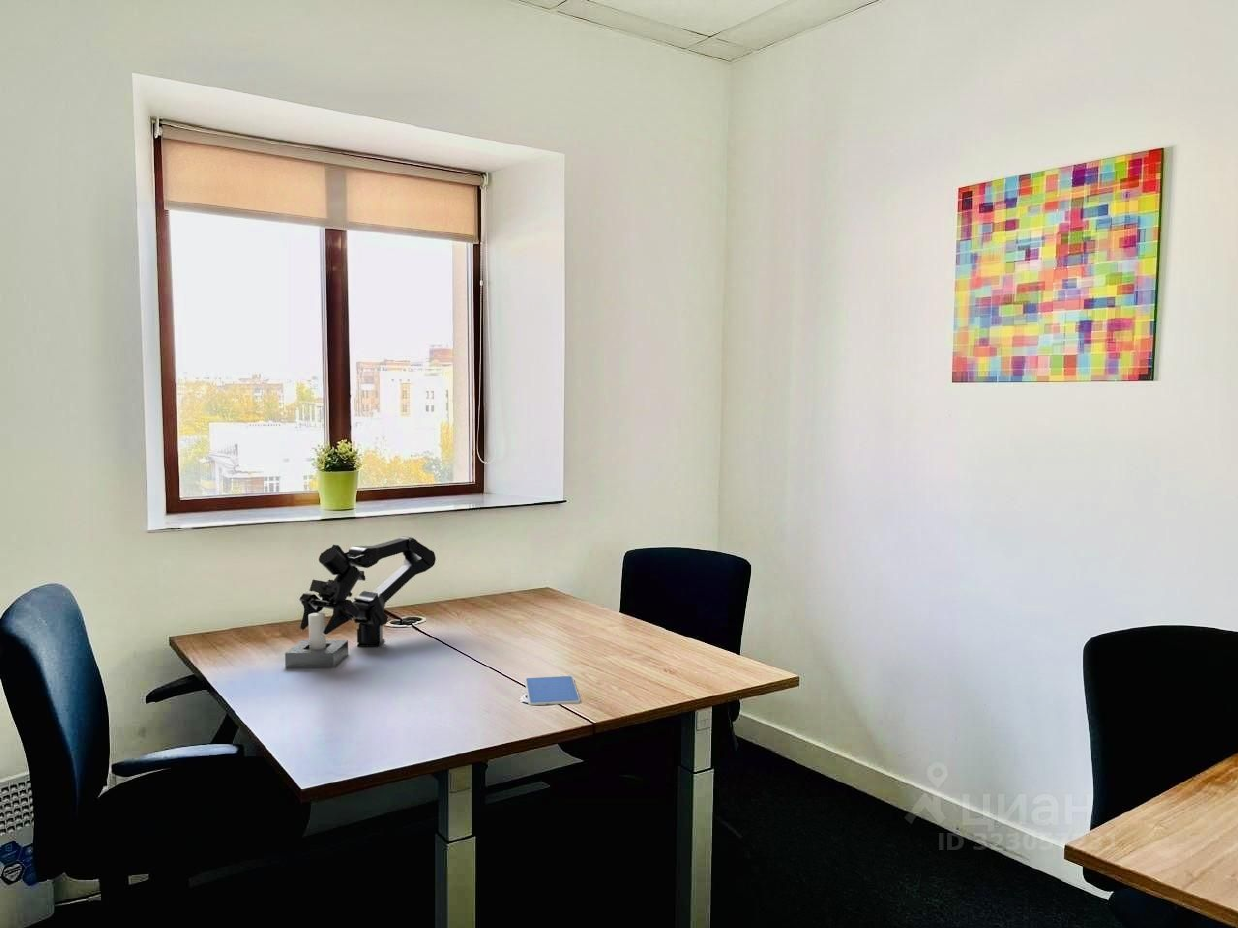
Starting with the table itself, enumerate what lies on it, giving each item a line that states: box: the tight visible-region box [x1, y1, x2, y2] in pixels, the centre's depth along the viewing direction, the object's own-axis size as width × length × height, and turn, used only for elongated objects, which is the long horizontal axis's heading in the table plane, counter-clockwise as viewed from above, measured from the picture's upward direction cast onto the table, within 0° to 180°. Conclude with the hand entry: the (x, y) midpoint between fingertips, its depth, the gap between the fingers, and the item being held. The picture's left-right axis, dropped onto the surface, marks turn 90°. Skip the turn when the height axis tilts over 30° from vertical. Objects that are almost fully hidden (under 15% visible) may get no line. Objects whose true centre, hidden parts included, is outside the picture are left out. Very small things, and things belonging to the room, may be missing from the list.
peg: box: [308, 612, 327, 650], centre depth 254 cm, size 4×4×13 cm
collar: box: [284, 639, 349, 669], centre depth 254 cm, size 13×13×4 cm
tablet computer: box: [524, 675, 581, 706], centre depth 230 cm, size 19×13×1 cm, turn 9°
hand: (313, 631), depth 253 cm, fingers open, 9 cm apart
